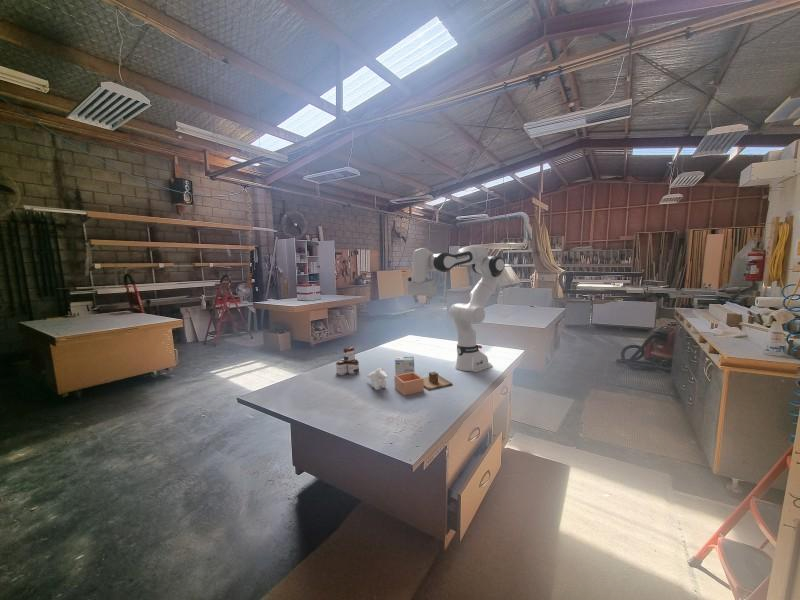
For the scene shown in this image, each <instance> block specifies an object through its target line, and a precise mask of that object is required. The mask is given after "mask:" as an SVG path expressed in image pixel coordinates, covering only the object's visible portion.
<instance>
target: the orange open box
mask: <svg viewBox="0 0 800 600" xmlns="http://www.w3.org/2000/svg"><path fill="white" fill-rule="evenodd" d="M423 378H424V377H422V376H420V375H418V374H417V373H416V372H415V371H414V372H411V373H406V374H401V375H396V374H395V375H394V388H395V389H396V390H397V391H398V392H399V393H400V394H401V395H402V396H407V395H412V394H417V393H421V392H424V391H425V390H424V389H425V388H424V382H423Z"/></svg>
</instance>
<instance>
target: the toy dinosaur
mask: <svg viewBox="0 0 800 600" xmlns="http://www.w3.org/2000/svg"><path fill="white" fill-rule="evenodd" d="M365 376H366V377H367V378H369V379H370V383H371V384H370V386H371V387H372V388H374V390H375V391H379V390H380V389H381V388H382V389H386V387H387V381H386V378H388V377H389V376H388V375H387V373H386V370H385V369H384V368H382V367H380V368H377V369H376V370H373V371H371V372H370V373H367V375H366V374H365ZM380 387H381V388H380Z"/></svg>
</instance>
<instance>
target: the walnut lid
mask: <svg viewBox="0 0 800 600" xmlns="http://www.w3.org/2000/svg"><path fill="white" fill-rule="evenodd" d="M422 378H423V382H424V387H425V388H426V389H428V390H430V391H433V390H432V389H435V390H438V389H437V388H439V389H442V388H441V387H444V388H447V387H446V386H448V387H451V386H450V385H452V386H453V383H452V381H449V380H448V379H446V378H444V377H443V376H441V375H440V374H439V373H438V372H436V371H431V372H428V376H425V377H422ZM425 388H424V389H425ZM426 389H425V390H426ZM428 390H427V391H428Z"/></svg>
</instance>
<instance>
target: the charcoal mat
mask: <svg viewBox="0 0 800 600" xmlns="http://www.w3.org/2000/svg"><path fill="white" fill-rule="evenodd" d="M451 386H453V384H452V385H450V386H446V387H441V388H437V389H432V390H428V389H426V388H425V387H424V389H425V390H426V391H428V392H430V391H434V390H439V389H443V388H449V387H451Z"/></svg>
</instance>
